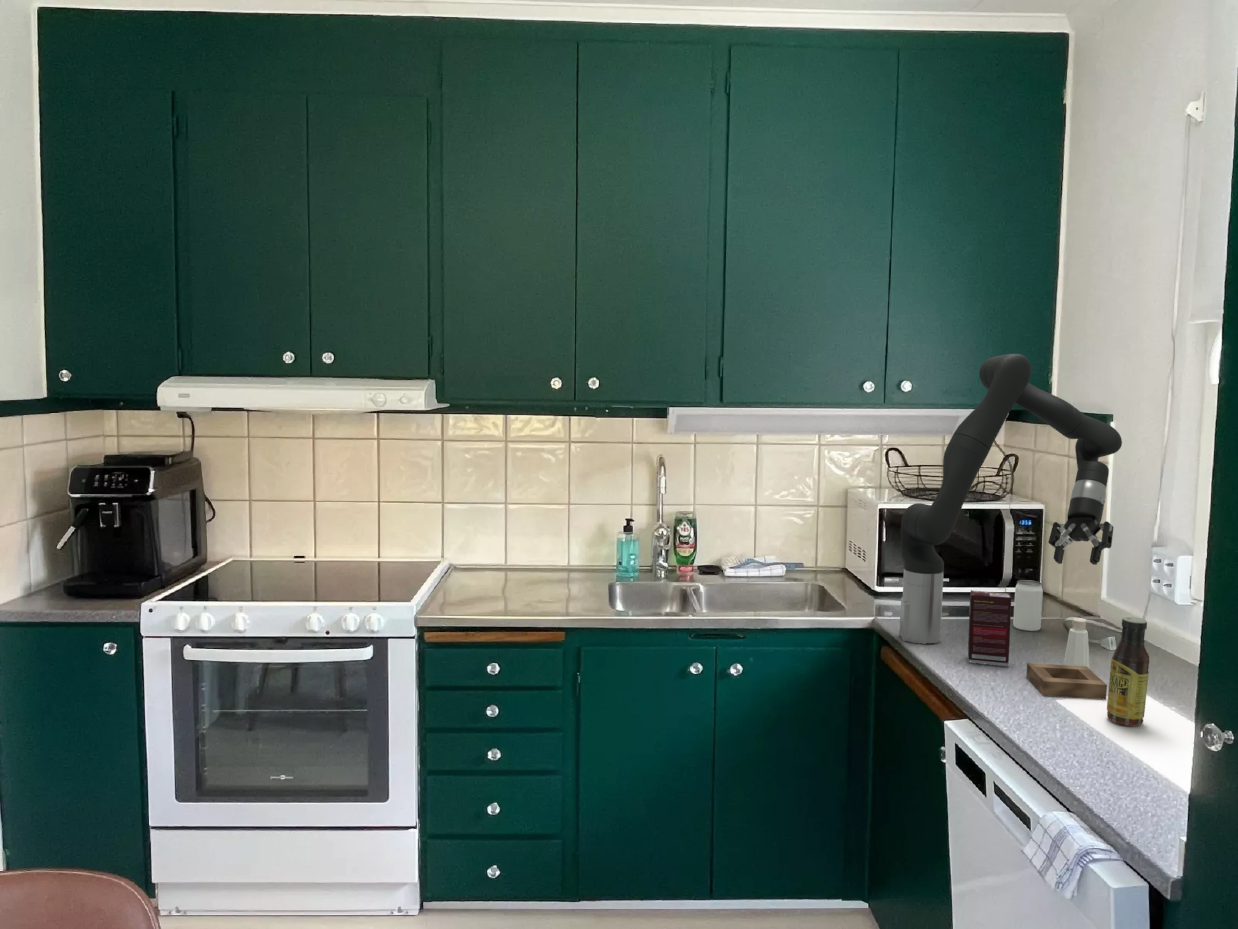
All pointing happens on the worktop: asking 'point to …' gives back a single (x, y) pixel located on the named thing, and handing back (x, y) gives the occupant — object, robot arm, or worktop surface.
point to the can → (1028, 605)
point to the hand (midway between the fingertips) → (1075, 563)
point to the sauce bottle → (1129, 675)
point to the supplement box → (989, 628)
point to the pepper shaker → (1077, 645)
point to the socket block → (1066, 681)
